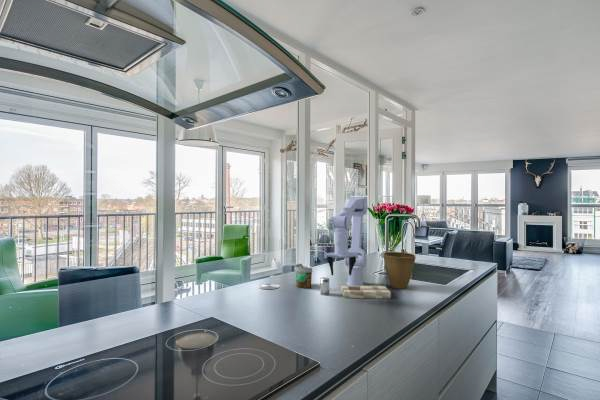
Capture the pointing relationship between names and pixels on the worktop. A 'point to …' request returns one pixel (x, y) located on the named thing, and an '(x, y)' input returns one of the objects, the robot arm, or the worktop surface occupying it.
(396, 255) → the plant pot
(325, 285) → the silver metal cylinder
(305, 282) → the food container
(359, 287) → the board
